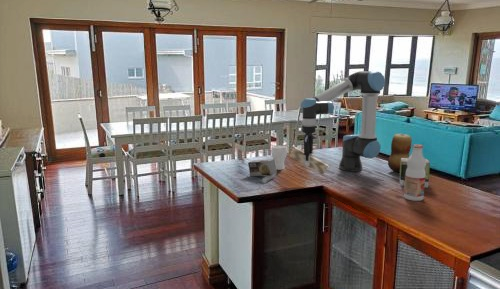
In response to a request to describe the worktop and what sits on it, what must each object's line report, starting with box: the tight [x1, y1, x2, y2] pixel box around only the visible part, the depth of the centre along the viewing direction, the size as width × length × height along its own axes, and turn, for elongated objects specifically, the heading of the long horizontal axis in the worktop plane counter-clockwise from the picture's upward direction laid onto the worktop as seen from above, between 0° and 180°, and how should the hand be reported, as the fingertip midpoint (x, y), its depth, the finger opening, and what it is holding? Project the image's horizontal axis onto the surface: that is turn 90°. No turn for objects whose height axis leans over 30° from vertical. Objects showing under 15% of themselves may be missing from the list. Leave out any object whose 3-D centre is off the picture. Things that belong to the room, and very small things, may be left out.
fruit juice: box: [403, 143, 426, 202], centre depth 194 cm, size 9×9×28 cm
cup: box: [270, 144, 288, 171], centre depth 256 cm, size 11×11×15 cm
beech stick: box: [289, 146, 329, 176], centre depth 221 cm, size 22×3×6 cm, turn 67°
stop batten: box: [261, 173, 277, 184], centre depth 233 cm, size 2×20×2 cm, turn 157°
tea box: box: [399, 158, 431, 189], centre depth 219 cm, size 15×10×15 cm, turn 71°
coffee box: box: [247, 158, 278, 177], centre depth 236 cm, size 9×6×16 cm
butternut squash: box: [387, 133, 412, 173], centre depth 246 cm, size 14×13×25 cm
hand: (308, 165), depth 222 cm, fingers closed on beech stick, 3 cm apart
